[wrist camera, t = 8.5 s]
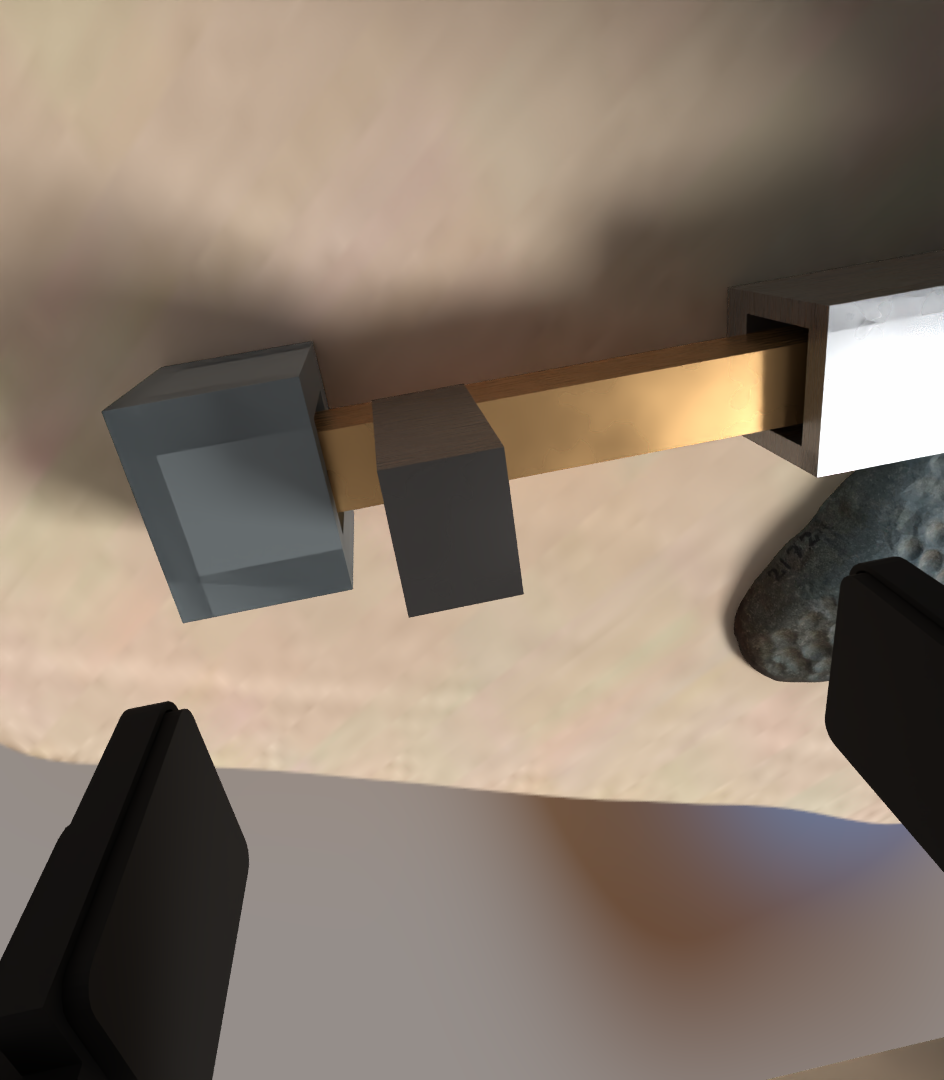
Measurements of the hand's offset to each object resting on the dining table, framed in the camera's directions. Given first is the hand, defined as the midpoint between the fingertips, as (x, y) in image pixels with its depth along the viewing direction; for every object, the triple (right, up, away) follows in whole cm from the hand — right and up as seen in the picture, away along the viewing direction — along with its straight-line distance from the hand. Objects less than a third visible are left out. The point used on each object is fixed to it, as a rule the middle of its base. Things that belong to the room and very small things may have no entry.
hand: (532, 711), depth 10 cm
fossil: (+18, +2, +24) cm, 30 cm away
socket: (-9, +6, +17) cm, 20 cm away
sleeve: (+15, +11, +19) cm, 26 cm away
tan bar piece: (+1, +7, +16) cm, 17 cm away
